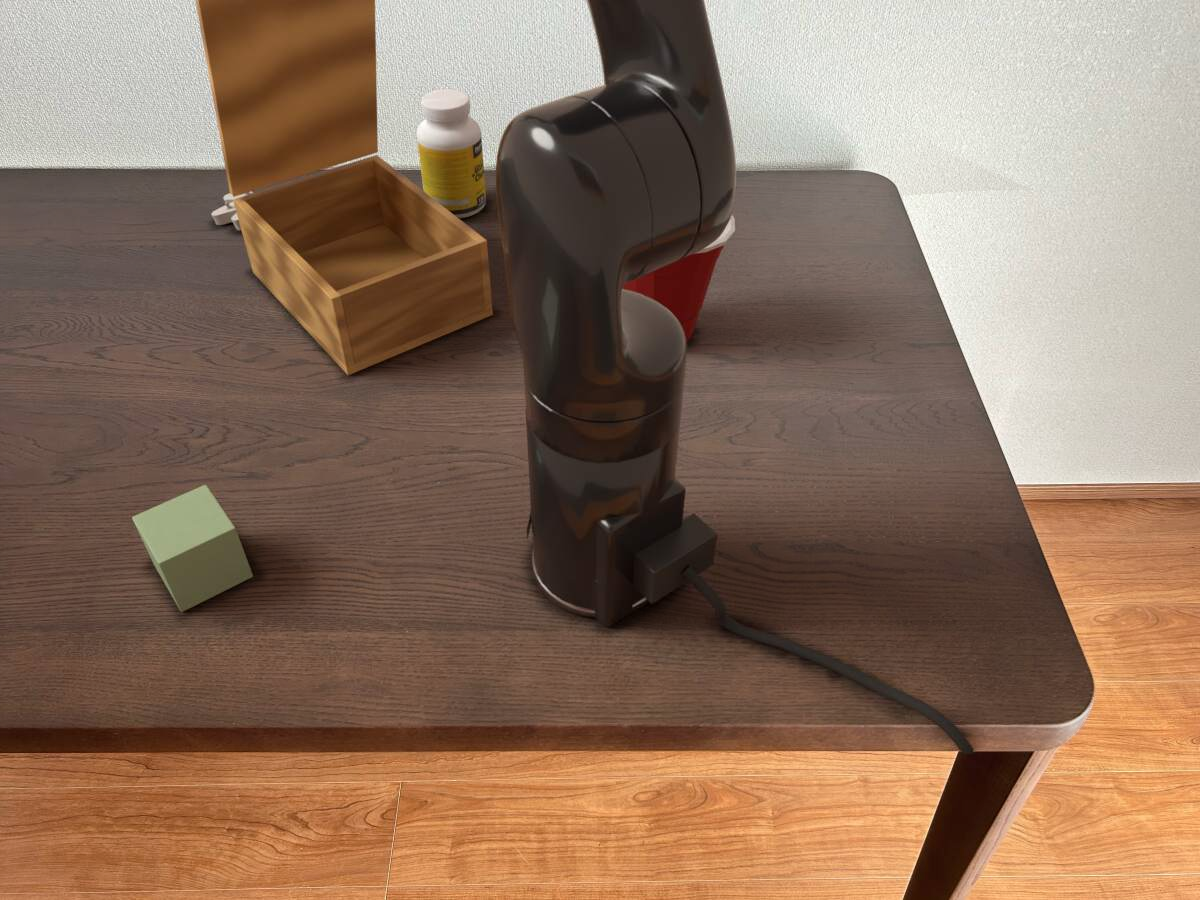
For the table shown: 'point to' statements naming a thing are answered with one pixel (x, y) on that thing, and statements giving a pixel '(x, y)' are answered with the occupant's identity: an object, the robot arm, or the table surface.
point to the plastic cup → (684, 282)
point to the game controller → (228, 211)
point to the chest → (366, 261)
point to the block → (193, 547)
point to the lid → (290, 85)
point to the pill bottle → (451, 153)
